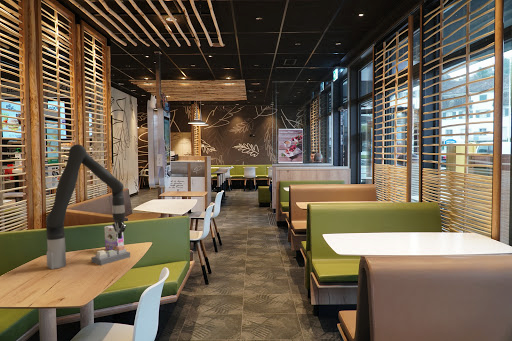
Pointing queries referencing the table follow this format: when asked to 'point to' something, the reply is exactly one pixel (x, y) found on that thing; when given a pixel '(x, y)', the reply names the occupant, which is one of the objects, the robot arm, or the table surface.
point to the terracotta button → (120, 248)
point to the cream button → (101, 252)
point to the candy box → (112, 238)
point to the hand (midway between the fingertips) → (119, 238)
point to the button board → (110, 257)
